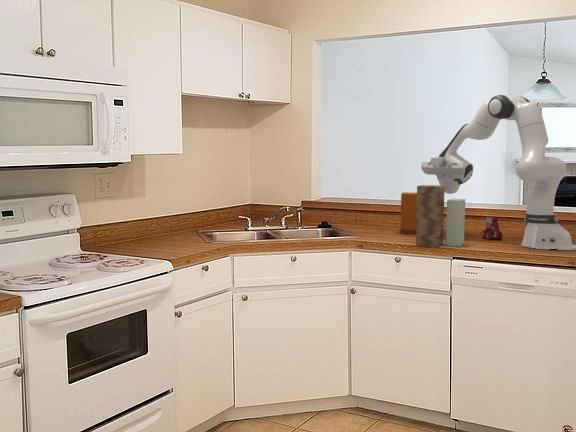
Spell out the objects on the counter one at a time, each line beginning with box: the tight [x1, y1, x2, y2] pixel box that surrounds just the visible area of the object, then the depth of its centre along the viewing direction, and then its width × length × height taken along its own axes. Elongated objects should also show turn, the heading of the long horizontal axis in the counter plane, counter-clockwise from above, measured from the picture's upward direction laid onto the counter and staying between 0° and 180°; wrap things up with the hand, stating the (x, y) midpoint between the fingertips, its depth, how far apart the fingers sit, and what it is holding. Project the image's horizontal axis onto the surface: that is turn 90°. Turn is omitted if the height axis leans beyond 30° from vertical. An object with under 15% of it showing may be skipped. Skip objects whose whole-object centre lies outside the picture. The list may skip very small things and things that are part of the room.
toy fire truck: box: [480, 216, 503, 241], centre depth 321 cm, size 7×12×10 cm, turn 6°
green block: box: [445, 198, 466, 247], centre depth 302 cm, size 6×10×20 cm, turn 155°
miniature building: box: [399, 192, 417, 236], centre depth 340 cm, size 10×9×20 cm
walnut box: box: [415, 184, 445, 248], centre depth 300 cm, size 10×9×26 cm
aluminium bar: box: [430, 156, 447, 165], centre depth 311 cm, size 3×20×3 cm, turn 155°
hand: (440, 159), depth 314 cm, fingers closed on aluminium bar, 3 cm apart
